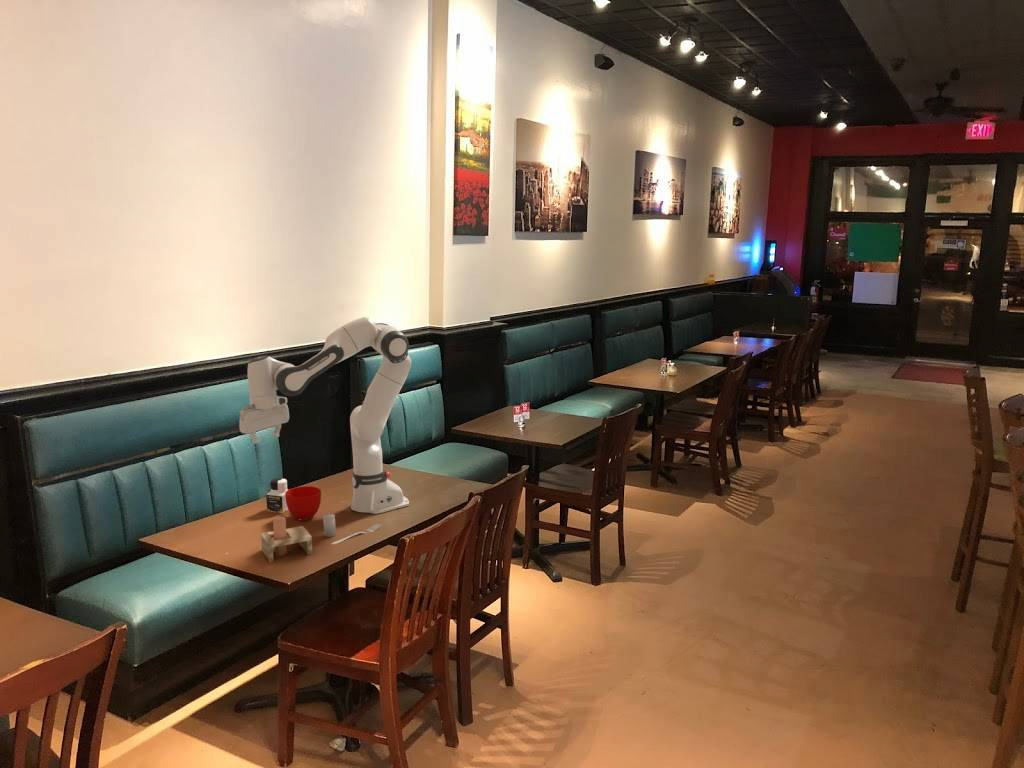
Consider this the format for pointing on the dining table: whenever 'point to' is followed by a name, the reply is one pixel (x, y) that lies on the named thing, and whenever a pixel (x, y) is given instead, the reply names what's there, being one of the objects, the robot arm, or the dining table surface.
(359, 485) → the robot arm
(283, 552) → the long dowel
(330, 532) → the short dowel
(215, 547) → the dining table surface
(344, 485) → the dining table surface
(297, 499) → the ceramic cup
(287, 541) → the bridge
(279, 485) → the medicine bottle
